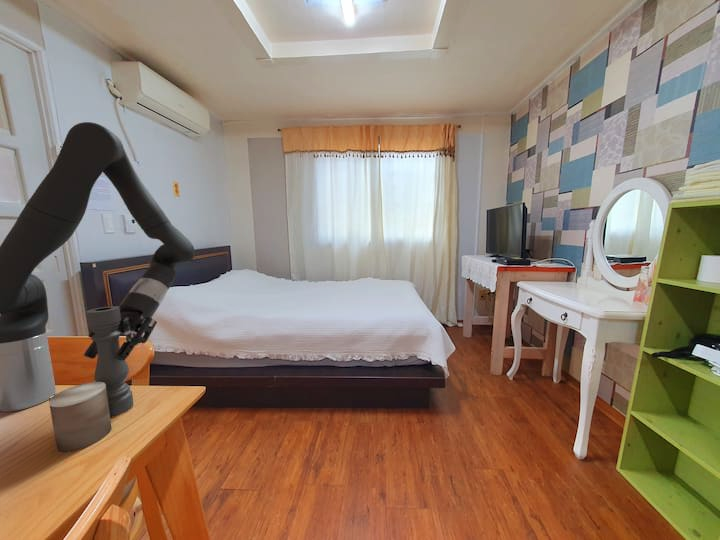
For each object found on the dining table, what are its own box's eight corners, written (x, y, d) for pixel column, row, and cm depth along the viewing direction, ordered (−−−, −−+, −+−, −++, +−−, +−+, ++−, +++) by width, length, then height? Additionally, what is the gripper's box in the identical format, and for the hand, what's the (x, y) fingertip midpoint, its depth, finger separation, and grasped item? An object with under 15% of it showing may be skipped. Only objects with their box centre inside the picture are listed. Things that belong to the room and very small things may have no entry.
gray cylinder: (62, 435, 57) (54, 391, 56) (113, 419, 62) (107, 377, 61) (52, 459, 51) (43, 409, 49) (109, 438, 56) (103, 393, 54)
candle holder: (140, 403, 67) (127, 306, 64) (111, 420, 61) (96, 313, 58) (122, 400, 69) (109, 305, 66) (92, 415, 63) (77, 312, 60)
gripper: (110, 290, 70) (62, 350, 60) (157, 291, 68) (116, 353, 58) (133, 305, 76) (92, 362, 66) (177, 306, 74) (142, 365, 64)
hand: (103, 358), depth 62 cm, fingers open, 8 cm apart
